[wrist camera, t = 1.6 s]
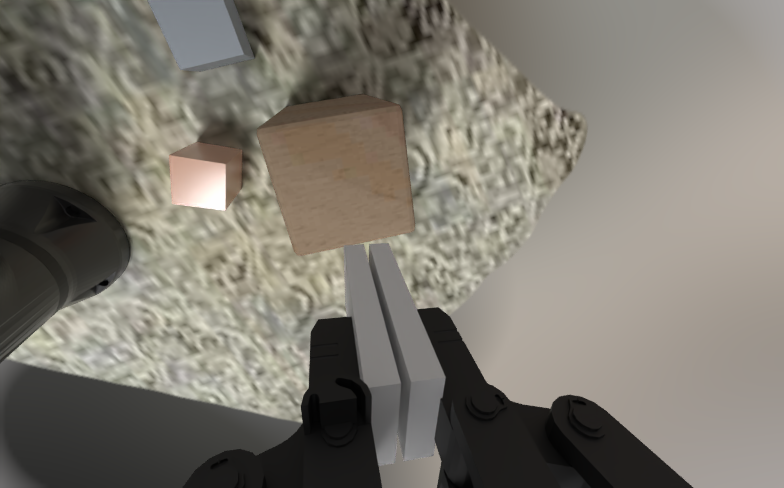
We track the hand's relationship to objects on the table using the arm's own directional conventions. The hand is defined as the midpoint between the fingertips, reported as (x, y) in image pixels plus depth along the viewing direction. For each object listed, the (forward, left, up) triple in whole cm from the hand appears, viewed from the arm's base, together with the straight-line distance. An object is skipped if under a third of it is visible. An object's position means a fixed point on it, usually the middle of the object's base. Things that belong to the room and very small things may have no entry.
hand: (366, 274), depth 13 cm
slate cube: (-12, +11, -33) cm, 36 cm away
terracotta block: (-14, -3, -33) cm, 36 cm away
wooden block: (0, 0, -33) cm, 33 cm away
